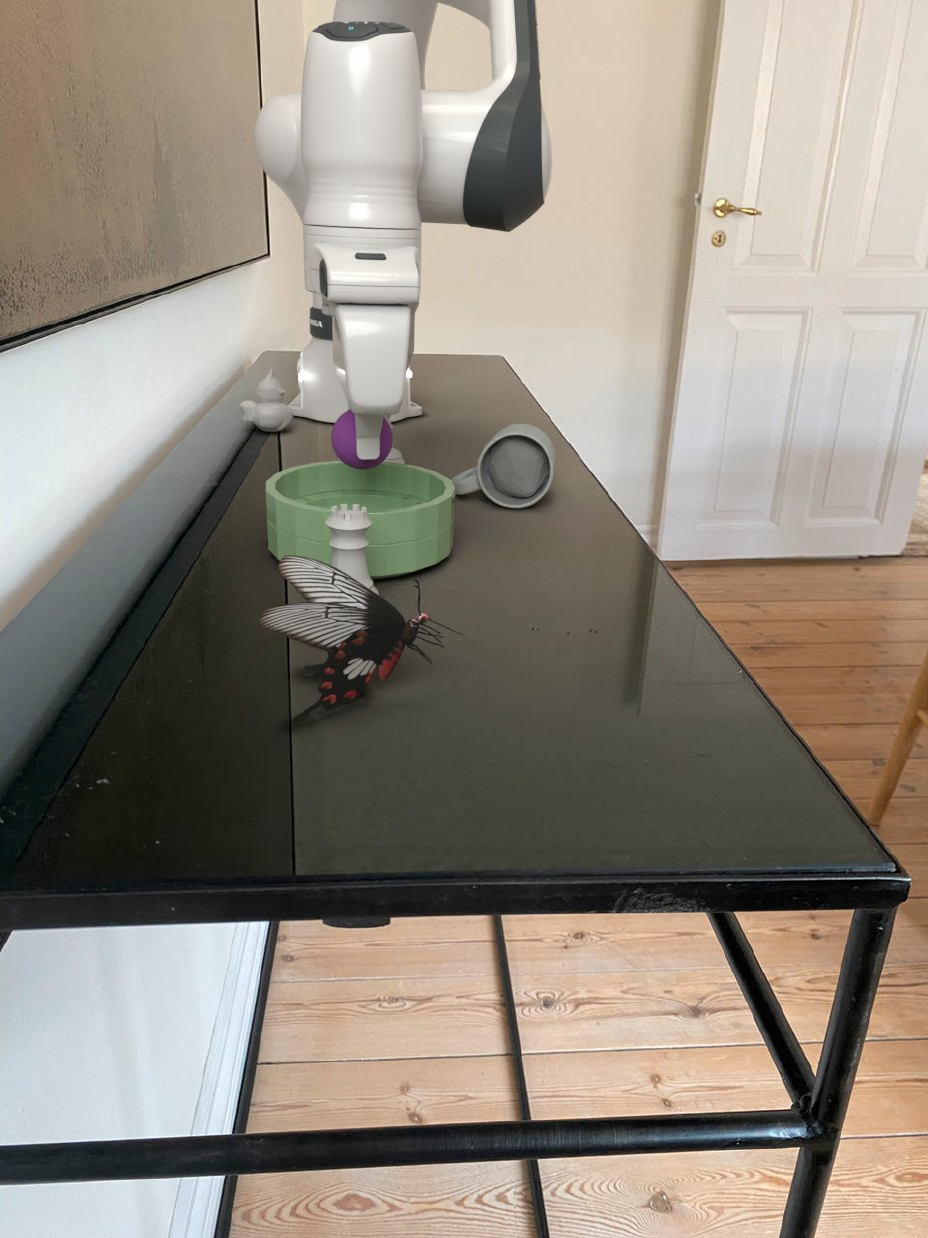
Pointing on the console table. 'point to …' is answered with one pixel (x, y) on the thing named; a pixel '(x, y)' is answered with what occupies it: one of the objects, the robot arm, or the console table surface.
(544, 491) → the ceramic mug
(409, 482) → the bowl
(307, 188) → the robot arm
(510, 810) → the console table surface
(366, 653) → the butterfly
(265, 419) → the rubber duck
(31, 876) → the console table surface
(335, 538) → the rook chess piece
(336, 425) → the ball
